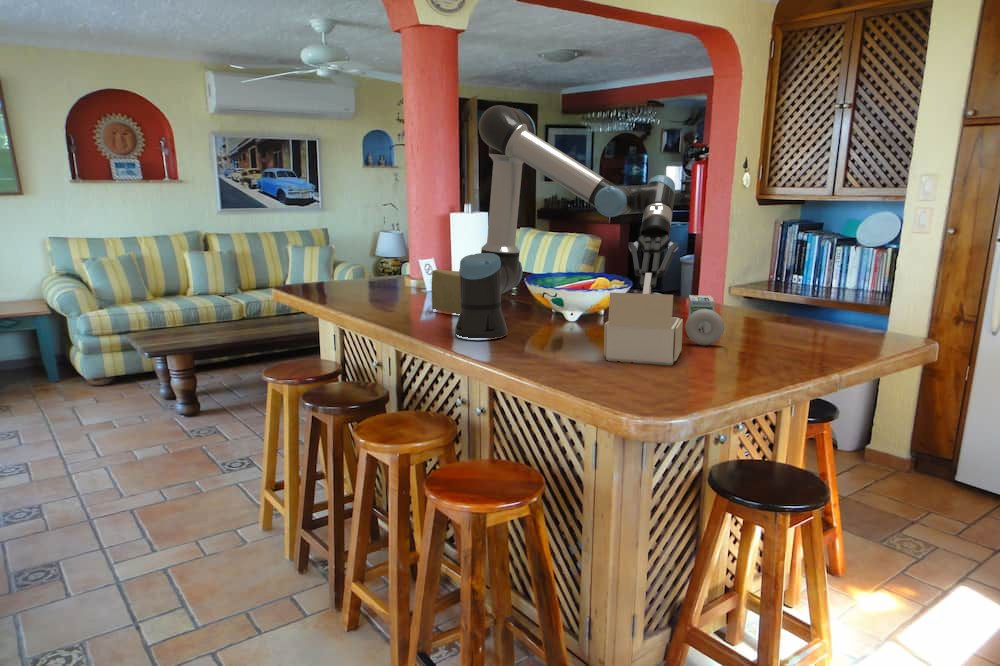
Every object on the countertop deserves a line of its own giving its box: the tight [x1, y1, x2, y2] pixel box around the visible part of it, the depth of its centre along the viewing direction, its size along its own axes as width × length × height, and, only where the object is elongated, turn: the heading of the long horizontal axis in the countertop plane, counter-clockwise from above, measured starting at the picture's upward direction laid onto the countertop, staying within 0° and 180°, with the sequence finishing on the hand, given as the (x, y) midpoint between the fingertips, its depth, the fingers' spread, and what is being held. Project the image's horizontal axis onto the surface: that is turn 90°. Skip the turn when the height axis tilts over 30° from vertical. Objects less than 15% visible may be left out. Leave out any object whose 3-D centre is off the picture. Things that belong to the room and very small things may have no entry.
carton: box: [603, 316, 684, 366], centre depth 174 cm, size 18×15×9 cm
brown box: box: [431, 269, 461, 314], centre depth 233 cm, size 22×10×15 cm, turn 55°
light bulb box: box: [687, 294, 716, 333], centre depth 198 cm, size 11×7×11 cm, turn 168°
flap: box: [607, 292, 674, 329], centre depth 165 cm, size 15×1×8 cm, turn 70°
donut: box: [685, 309, 725, 347], centre depth 184 cm, size 10×3×10 cm, turn 71°
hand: (646, 296), depth 170 cm, fingers closed
